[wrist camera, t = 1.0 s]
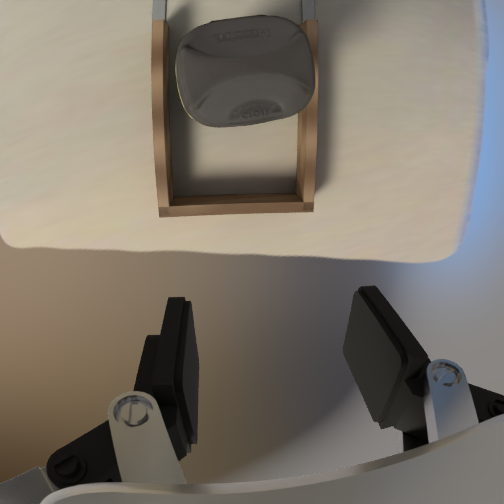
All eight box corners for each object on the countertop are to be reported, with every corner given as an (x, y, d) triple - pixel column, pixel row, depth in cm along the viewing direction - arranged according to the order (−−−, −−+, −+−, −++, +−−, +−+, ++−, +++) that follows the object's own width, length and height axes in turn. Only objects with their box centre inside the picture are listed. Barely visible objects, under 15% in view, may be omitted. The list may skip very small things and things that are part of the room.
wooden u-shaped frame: (158, 28, 29) (152, 20, 26) (308, 28, 31) (317, 20, 27) (164, 206, 39) (159, 217, 35) (304, 202, 40) (313, 212, 37)
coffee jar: (198, 127, 35) (178, 142, 18) (186, 63, 32) (157, 23, 15) (280, 113, 35) (334, 118, 19) (270, 50, 32) (314, 2, 15)
